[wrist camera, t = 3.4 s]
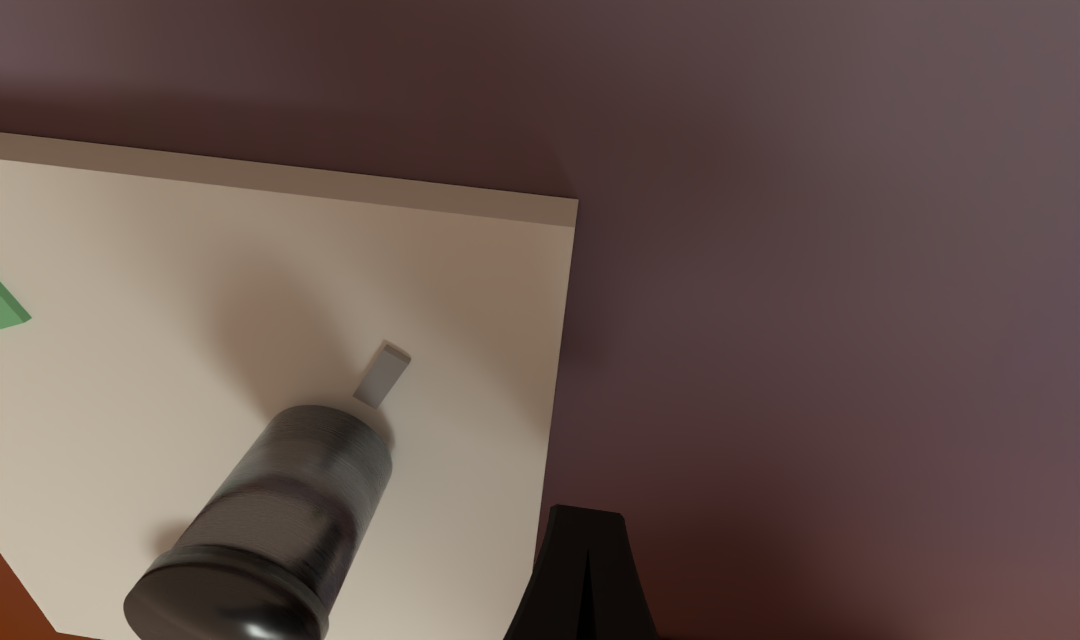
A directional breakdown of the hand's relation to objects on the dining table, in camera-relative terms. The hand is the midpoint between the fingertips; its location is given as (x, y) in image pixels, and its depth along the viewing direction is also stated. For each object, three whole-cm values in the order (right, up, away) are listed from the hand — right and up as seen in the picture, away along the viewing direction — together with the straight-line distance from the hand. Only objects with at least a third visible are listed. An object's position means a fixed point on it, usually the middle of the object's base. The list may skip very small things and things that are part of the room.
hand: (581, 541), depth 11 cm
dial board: (-9, 0, +5) cm, 11 cm away
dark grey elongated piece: (-8, -2, +4) cm, 9 cm away
